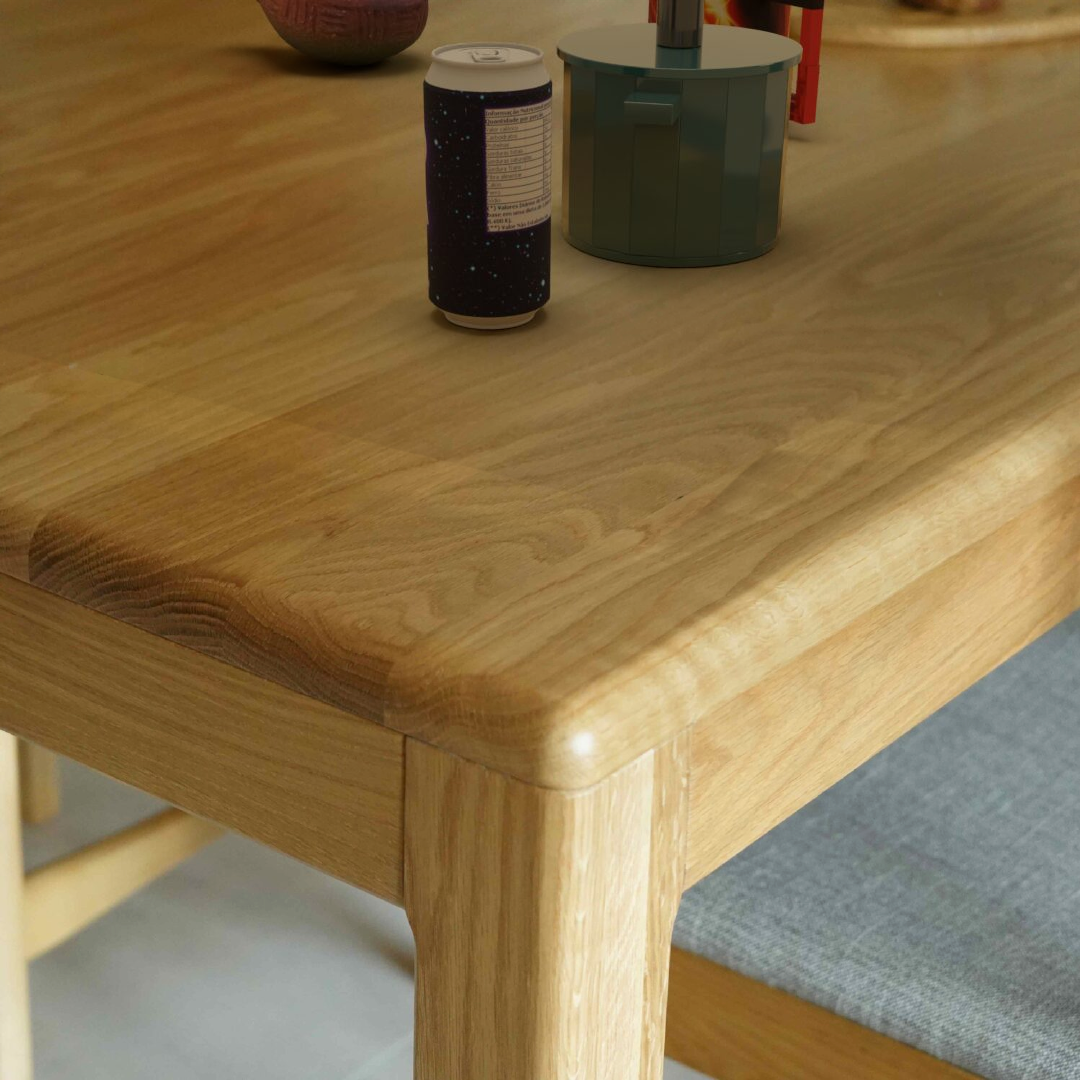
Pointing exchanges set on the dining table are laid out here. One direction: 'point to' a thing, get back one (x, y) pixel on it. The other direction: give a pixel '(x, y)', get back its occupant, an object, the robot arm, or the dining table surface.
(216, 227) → the dining table surface
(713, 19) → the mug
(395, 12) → the bowl
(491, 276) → the beverage can
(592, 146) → the pot
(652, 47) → the pot lid
